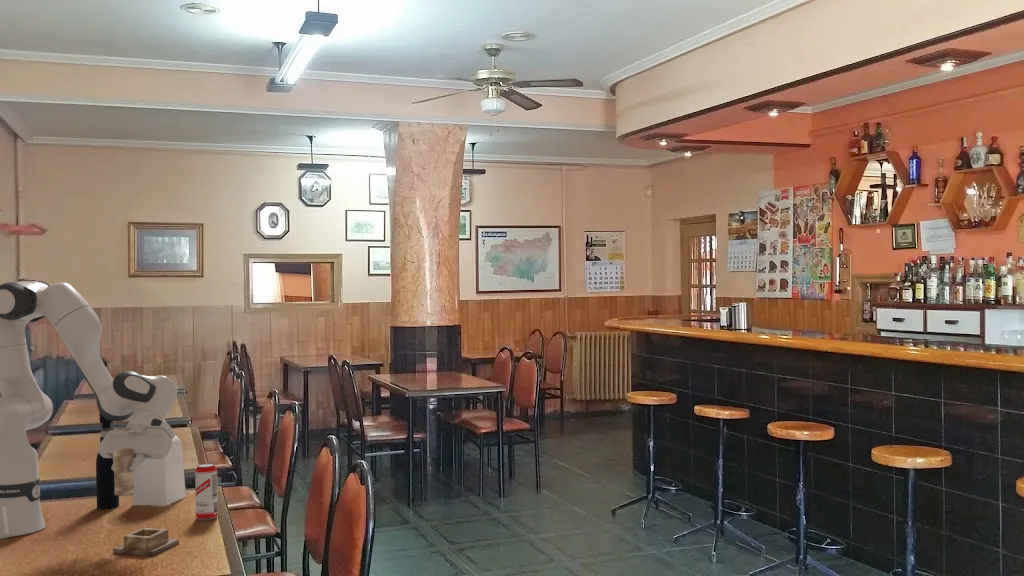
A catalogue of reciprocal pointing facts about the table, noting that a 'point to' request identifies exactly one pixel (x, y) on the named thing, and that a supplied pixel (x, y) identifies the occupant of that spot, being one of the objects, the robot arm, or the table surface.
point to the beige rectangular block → (123, 472)
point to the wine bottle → (105, 474)
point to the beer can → (206, 491)
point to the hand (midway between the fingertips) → (122, 470)
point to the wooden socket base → (146, 542)
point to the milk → (161, 478)
